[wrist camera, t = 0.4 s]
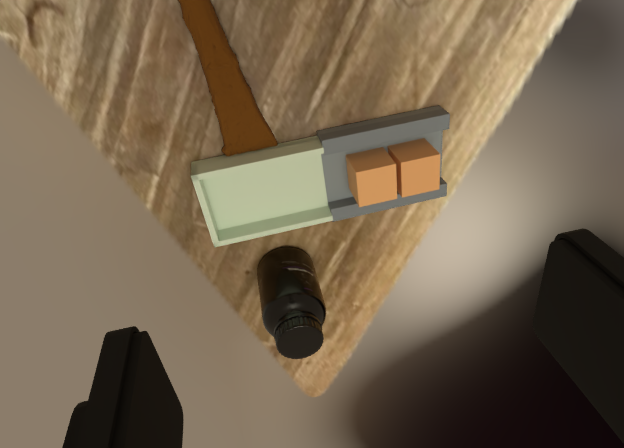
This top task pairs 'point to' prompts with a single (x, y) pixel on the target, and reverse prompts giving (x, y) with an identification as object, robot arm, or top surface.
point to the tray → (262, 191)
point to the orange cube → (416, 167)
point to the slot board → (370, 137)
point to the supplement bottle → (291, 302)
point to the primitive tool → (226, 82)
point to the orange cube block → (371, 176)
